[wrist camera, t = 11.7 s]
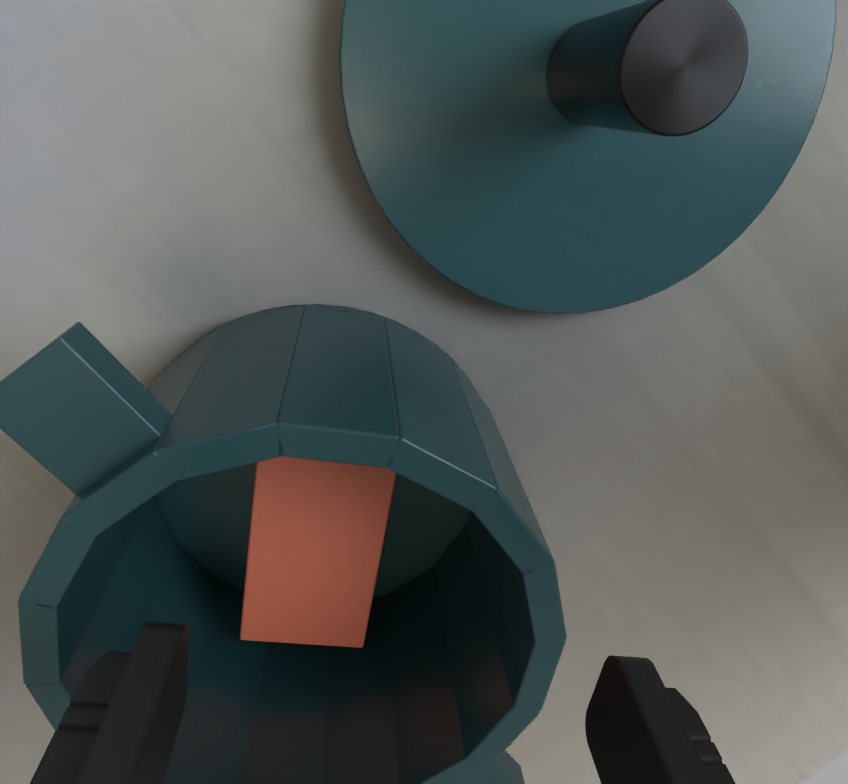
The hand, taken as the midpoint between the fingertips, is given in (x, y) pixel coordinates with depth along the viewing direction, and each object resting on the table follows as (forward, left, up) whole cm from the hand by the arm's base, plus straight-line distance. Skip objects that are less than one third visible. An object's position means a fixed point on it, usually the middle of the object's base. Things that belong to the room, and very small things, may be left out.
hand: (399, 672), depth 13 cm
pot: (+3, +1, -11) cm, 12 cm away
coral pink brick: (+3, +1, -11) cm, 11 cm away
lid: (-11, -5, -11) cm, 16 cm away
